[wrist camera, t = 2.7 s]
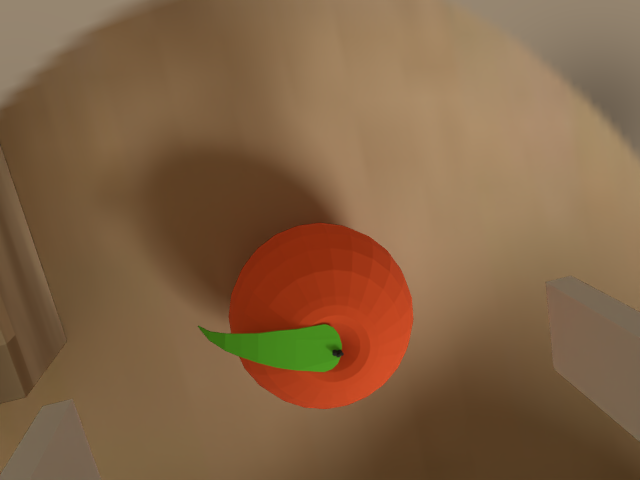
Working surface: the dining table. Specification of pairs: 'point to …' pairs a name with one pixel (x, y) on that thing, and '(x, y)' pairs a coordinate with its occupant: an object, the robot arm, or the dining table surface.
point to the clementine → (319, 316)
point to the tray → (22, 301)
